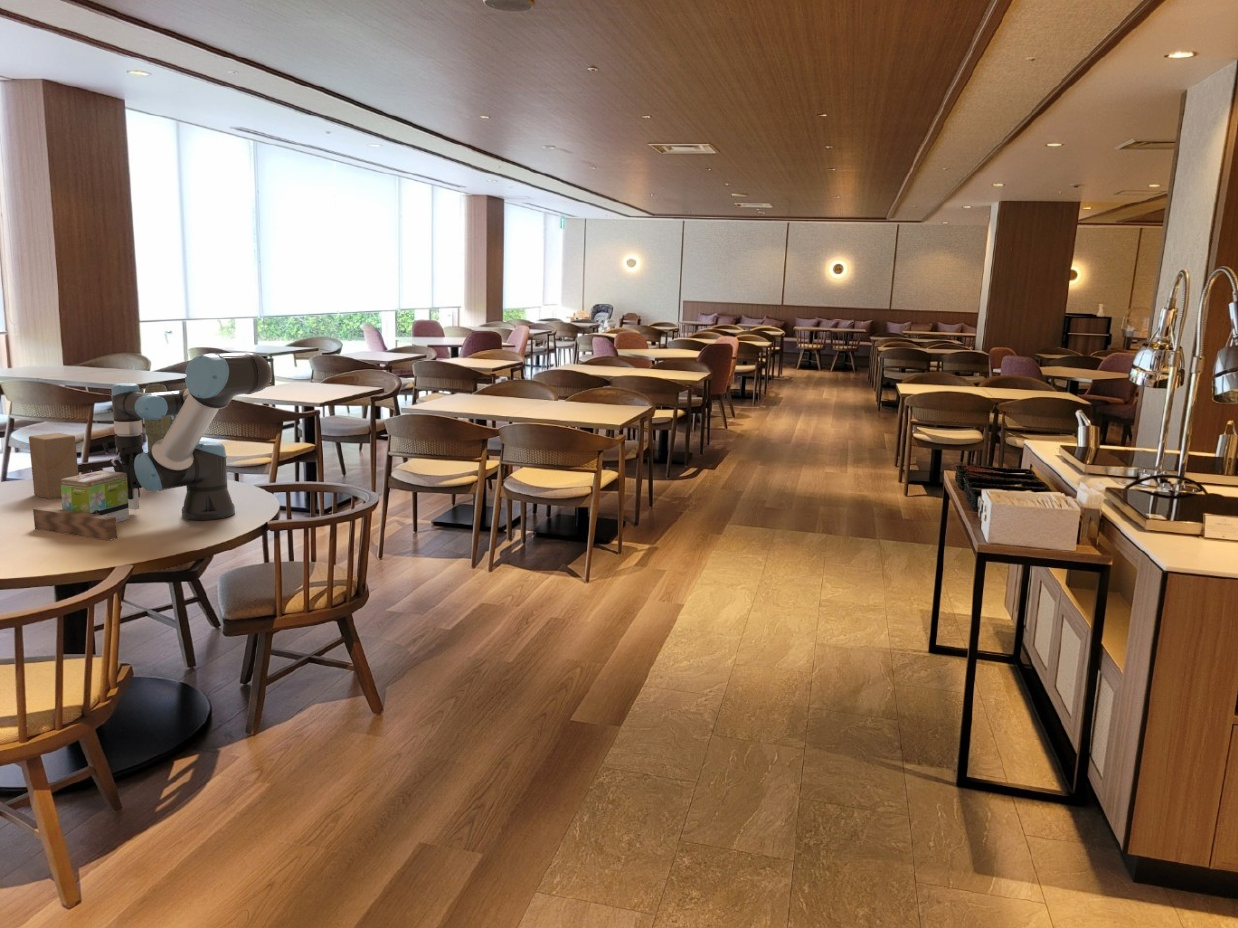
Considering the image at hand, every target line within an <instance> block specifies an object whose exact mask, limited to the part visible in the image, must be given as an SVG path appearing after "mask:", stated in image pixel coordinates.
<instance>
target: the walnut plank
mask: <svg viewBox="0 0 1238 928" xmlns="http://www.w3.org/2000/svg"><path fill="white" fill-rule="evenodd" d="M32 512H33V522H34V523H33V524H34V529H35V530H39V531H40V530H41V531H46V532H51V531H52V532H53V533H58V534H66V535H72V536H78V537H84V538H88V539H89V538H90V539H95V540H102V541H111V539H112V540H114V538H115V539H117V538H118V529H117V522H116V517H110V516H104V515H97V514H90V513H83V512H76V511H69V510H62V509H61V508H54V507H48V506H39V507H35V508H32Z"/></svg>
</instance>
